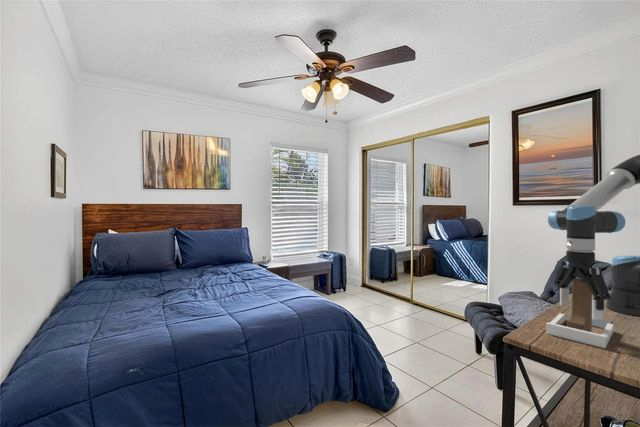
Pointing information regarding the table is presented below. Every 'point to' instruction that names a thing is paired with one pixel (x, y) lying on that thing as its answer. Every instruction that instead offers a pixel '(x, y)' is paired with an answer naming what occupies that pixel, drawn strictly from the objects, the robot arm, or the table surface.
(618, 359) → the table surface
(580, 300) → the wooden block
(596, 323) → the pad
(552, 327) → the white u-shaped bracket
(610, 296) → the robot arm
